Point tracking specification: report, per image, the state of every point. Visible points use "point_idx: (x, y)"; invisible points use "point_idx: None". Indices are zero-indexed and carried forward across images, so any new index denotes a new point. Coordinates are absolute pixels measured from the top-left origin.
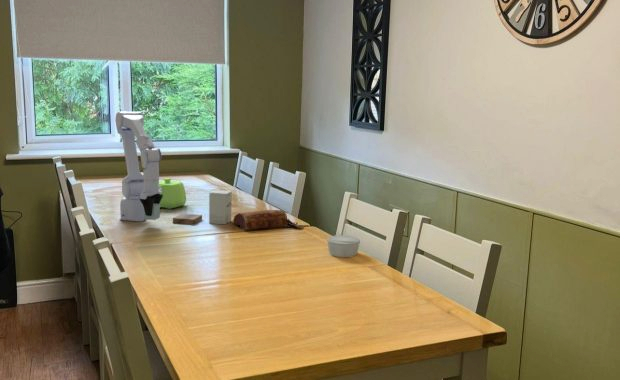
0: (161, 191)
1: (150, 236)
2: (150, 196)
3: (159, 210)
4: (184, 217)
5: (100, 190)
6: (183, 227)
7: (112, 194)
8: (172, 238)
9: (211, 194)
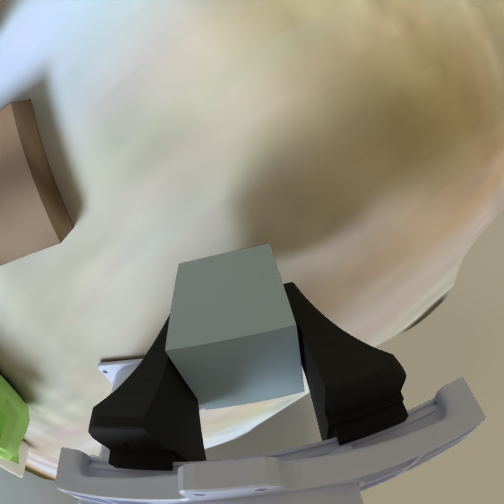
0: (203, 489)
1: (417, 133)
2: (199, 456)
3: (176, 300)
4: (9, 195)
5: None
6: (120, 86)
7: None
8: (403, 7)
9: None
